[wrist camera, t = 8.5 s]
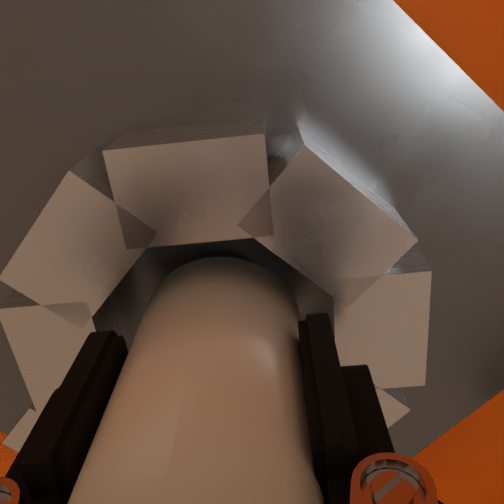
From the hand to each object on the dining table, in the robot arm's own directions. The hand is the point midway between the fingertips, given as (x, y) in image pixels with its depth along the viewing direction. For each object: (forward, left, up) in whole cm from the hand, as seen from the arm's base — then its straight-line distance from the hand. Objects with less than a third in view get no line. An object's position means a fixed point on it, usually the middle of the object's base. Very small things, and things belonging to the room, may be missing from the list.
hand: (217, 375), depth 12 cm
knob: (0, 0, -2) cm, 2 cm away
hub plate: (0, 0, -4) cm, 4 cm away
